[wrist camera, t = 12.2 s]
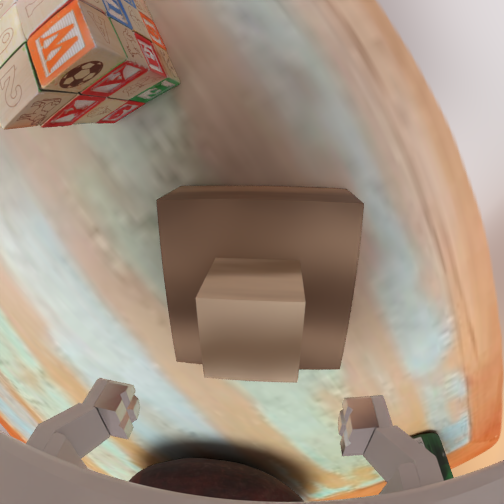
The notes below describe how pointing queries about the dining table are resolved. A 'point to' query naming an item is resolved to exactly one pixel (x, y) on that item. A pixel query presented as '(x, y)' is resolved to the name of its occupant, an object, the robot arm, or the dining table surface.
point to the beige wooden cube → (251, 319)
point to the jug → (215, 480)
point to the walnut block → (263, 254)
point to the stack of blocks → (78, 61)
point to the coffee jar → (435, 451)
